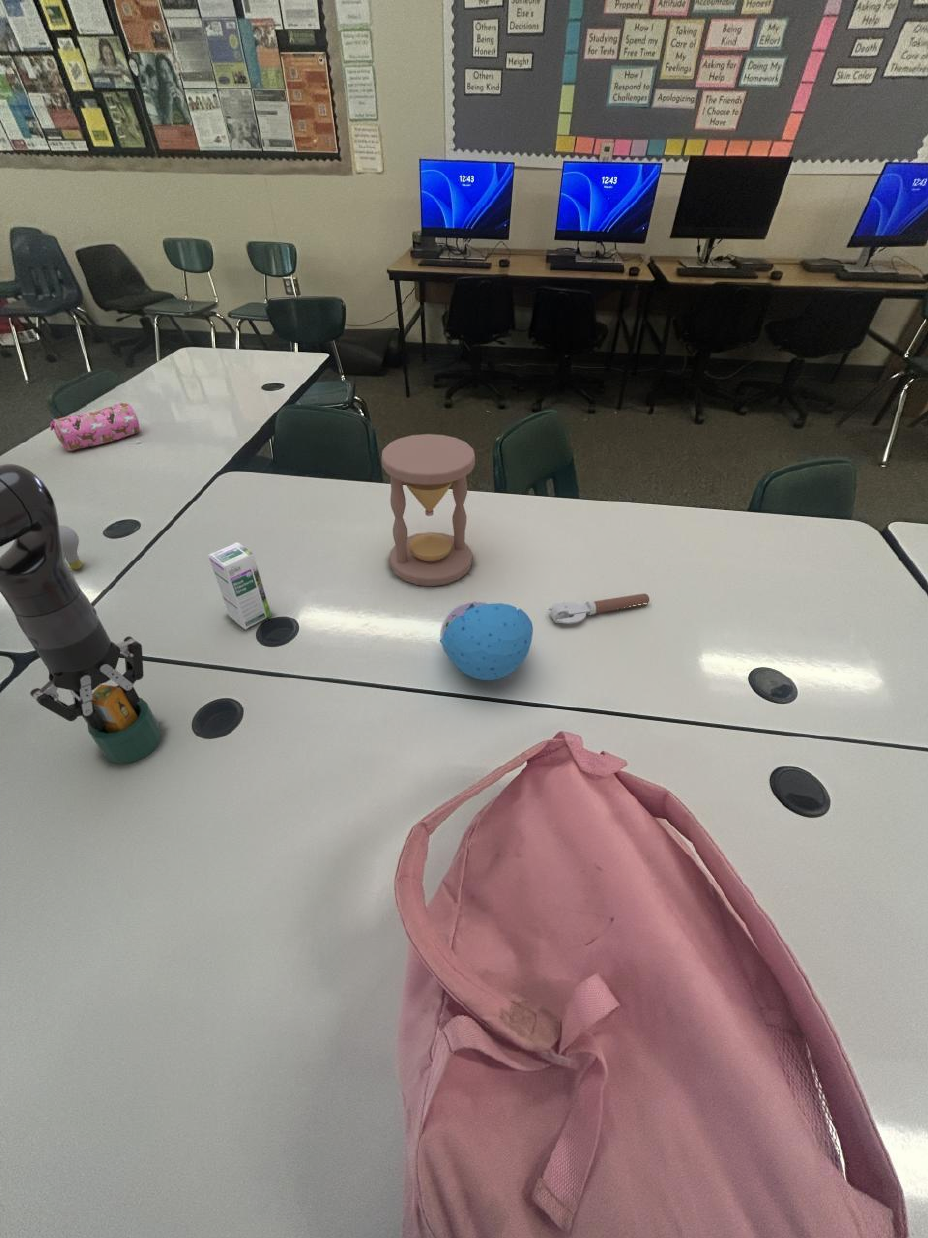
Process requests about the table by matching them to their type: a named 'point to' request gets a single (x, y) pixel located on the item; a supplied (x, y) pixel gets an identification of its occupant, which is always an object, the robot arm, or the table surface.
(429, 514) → the hourglass
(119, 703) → the supplement box
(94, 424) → the pencil case
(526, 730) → the table surface
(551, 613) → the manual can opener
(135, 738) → the green pipe cap
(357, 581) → the table surface
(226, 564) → the syrup box
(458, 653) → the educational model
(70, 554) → the light bulb
